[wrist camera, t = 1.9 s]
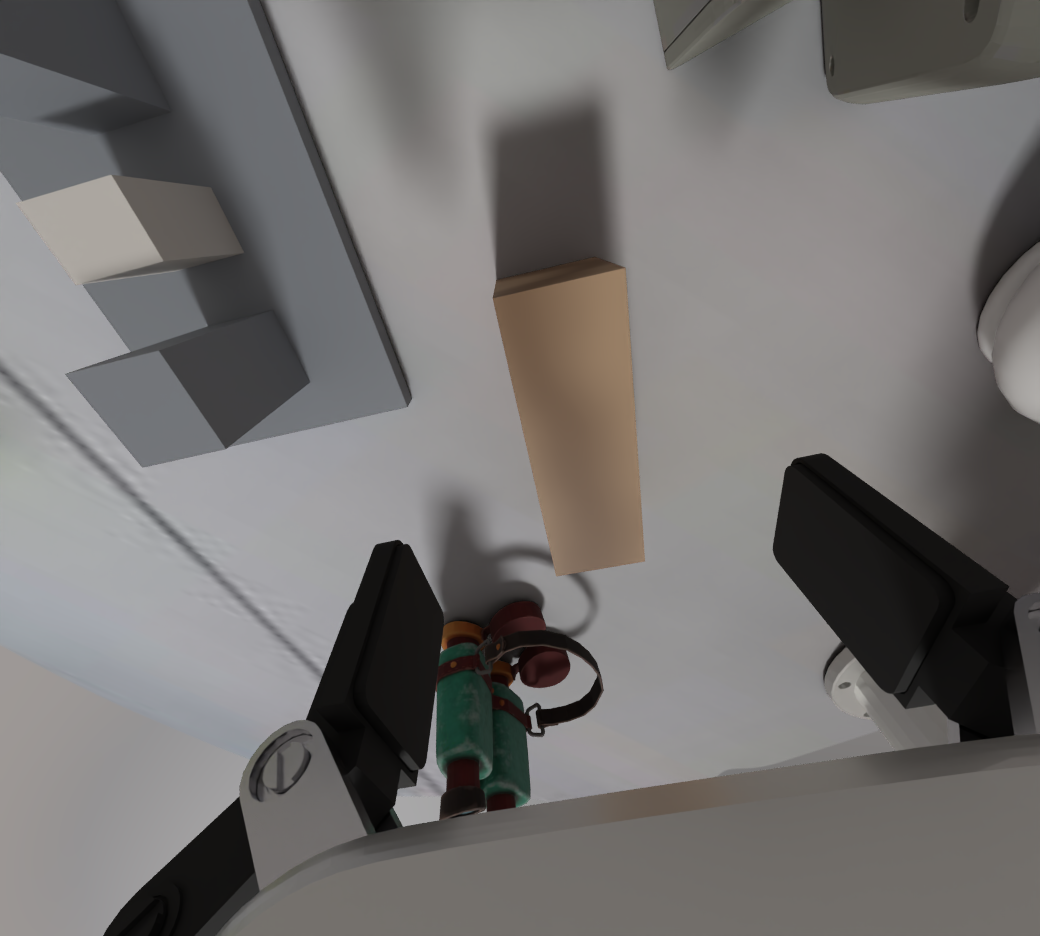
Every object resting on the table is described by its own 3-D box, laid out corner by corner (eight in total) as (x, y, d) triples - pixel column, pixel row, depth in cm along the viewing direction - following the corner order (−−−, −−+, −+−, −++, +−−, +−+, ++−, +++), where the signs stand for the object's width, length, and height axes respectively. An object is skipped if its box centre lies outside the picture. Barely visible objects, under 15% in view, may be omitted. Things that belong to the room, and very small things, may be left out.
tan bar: (594, 256, 16) (625, 268, 12) (618, 496, 22) (644, 561, 18) (496, 279, 16) (492, 298, 12) (546, 509, 23) (556, 576, 18)
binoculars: (656, 821, 21) (481, 881, 22) (597, 643, 30) (476, 691, 31) (602, 743, 16) (387, 822, 17) (552, 564, 25) (413, 622, 27)
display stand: (197, -162, 11) (-205, -662, 5) (412, 398, 19) (366, 480, 13) (-119, -43, 12) (-798, -332, 6) (216, 442, 20) (88, 537, 14)
